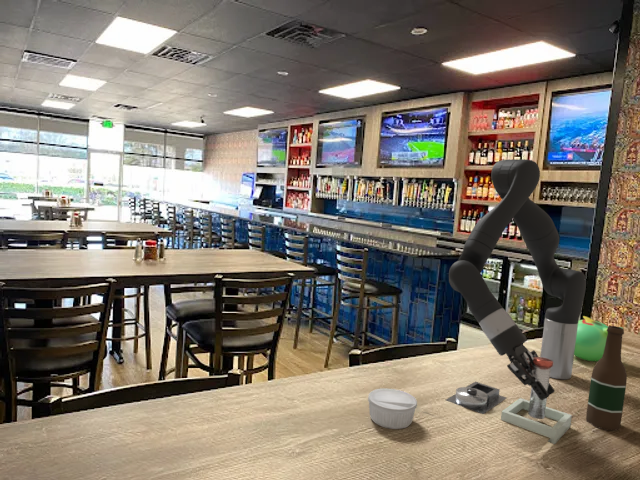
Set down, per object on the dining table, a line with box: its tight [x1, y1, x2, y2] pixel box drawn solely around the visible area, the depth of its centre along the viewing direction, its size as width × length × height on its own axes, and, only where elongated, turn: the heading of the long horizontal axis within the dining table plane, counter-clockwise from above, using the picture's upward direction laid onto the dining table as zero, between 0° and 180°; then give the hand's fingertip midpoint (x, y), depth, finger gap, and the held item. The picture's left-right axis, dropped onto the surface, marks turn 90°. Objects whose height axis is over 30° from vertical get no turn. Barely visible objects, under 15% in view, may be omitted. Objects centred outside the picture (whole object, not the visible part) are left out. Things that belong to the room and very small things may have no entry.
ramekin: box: [367, 387, 418, 430], centre depth 110 cm, size 11×11×5 cm
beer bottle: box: [585, 325, 628, 431], centre depth 116 cm, size 8×8×24 cm
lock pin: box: [527, 356, 553, 420], centre depth 113 cm, size 4×4×13 cm
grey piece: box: [445, 381, 507, 415], centre depth 124 cm, size 15×10×4 cm, turn 138°
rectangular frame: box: [500, 397, 573, 445], centre depth 113 cm, size 12×12×3 cm
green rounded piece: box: [574, 315, 624, 362], centre depth 168 cm, size 18×17×15 cm
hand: (548, 395), depth 111 cm, fingers closed on lock pin, 3 cm apart
